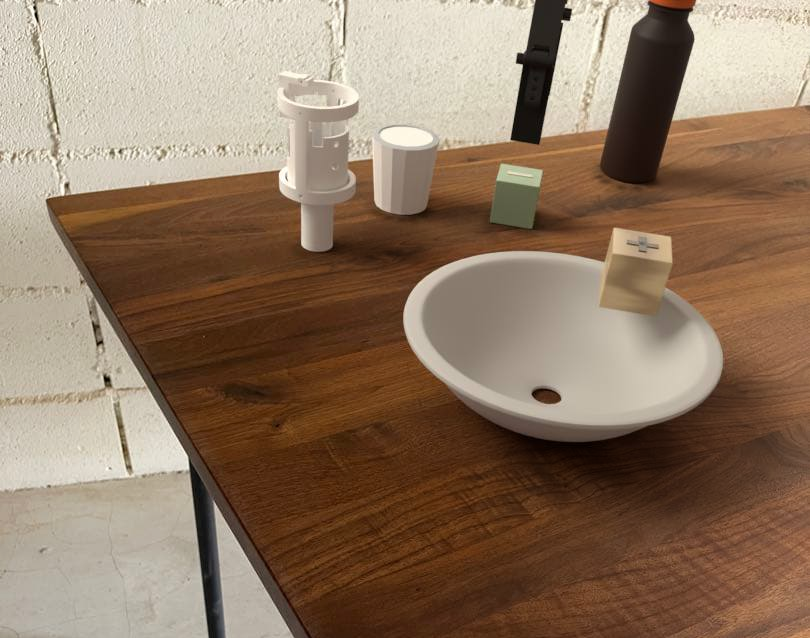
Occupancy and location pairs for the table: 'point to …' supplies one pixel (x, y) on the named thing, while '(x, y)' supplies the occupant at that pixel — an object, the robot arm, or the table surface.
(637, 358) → the sink basin
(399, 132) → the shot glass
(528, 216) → the sage block
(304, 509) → the table surface
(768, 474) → the table surface
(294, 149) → the white slotted cylindrical holder
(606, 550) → the table surface
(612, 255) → the maple block
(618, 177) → the bottle
